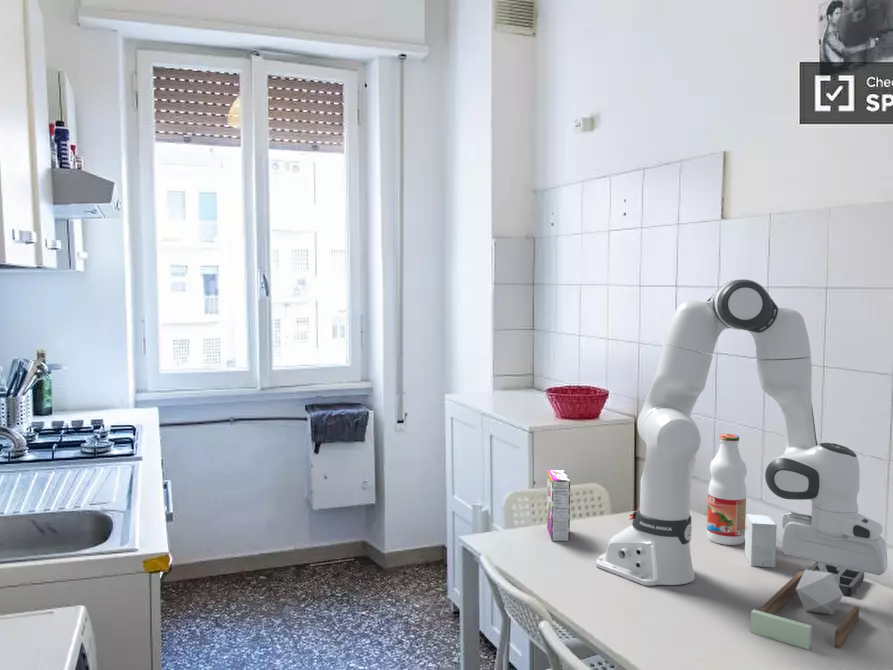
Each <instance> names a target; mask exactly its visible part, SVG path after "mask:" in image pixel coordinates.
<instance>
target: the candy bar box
mask: <svg viewBox="0 0 893 670" xmlns="http://www.w3.org/2000/svg"><path fill="white" fill-rule="evenodd" d="M546 475H547V483H546V484H547V485H546V486H547V488H546V489H547V492H546V494H547V496H546V497H547V498H546V499H547V500H546V501H547V503H546V506H547V507H546V512H547V513H546V529H547V531H548V533H549V537H550V539H551V541H552V542H570V527H571V526H570V524H571V522H570V520H571V519H570V518H571V517H570V513H571V512H570V511H571V480H570V478H569V476H568V474H567V472H566V471H565V470H564V469H548V470H547V474H546Z"/></svg>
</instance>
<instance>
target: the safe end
mask: <svg viewBox="0 0 893 670" xmlns="http://www.w3.org/2000/svg"><path fill="white" fill-rule="evenodd" d="M758 610H759V609H753V610H751V611H750V631H749V632H750V633H753V634H756V635H759V636H763V637H765V638H769V639H773V640H775V641H780V642H781V643H782V642H783V643H785V644H789V645H793V646H795V647H799V648H802V649H806V650H810V649H811V647H812V633H813V632H812V630H813V626H812V625H811V624H808V623H804V622H801V621H797V620H793V619H790V618H786V617H783V616H778V615H776V614H775V615H772V614H769V613H765V612H762V611H758Z"/></svg>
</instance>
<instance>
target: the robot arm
mask: <svg viewBox="0 0 893 670" xmlns="http://www.w3.org/2000/svg"><path fill="white" fill-rule="evenodd" d="M726 329H727V330H728V329H733V330H738V331H739V330H741V331H742V330H743V331H747V332H749V333H750V334H751V336H752V338H753V340H754V345H755V356H756V357H755V359H756V370H757V375H758V380H759V383H760V386H761V389H762V390H763V391H764V392H765V394H767V395H768V396H769V397H771V398H772V399H773V400H774V401H776V403H777V404H778V405H779V407H780V409H781V411H782V412H781V413H782V417H783V425H784V432H785V442H786V446H785V449H784V453H783V454H782V455H780V456H777V457H776V458H774V459H773V460H772V461H770V462H769V464H767V466H766V469H765V474H764V476H765V477H764V478H765V483H766V485H767V487H768V488H769V490H770V491H771V492H772V493H773V494H774V495H775V496H777V497H778V498H780V499H785V500H797V501H798V500H800V501H802V500H804V501H805V500H810V501H811V511H810V512H811V514H810V515H809V514H802V513H797V512H791V511H790V512H789V513H786V514H783V517H782V520H781V522H782V523H781V525H782V529H783V533H782V538H781V543H780V544H781V545H780V546H781V547H780V549H781V551H782V552H783V553H784V554H785V555H789V556H793V557H797V558H801V559H806V560H811V561H813V562H814V561H815V562H818V567H819V569H820V571H821V572H828V571H827V569H826V567H825V566H826V565H827V564H830V565H834V566H837V571H839V573H838V574H837V575H833V576H834V578H835V580H836V582H837V584H838V585H839V583H840V576H841V575H842V574H843V573H844V571H845V570H846V568H847V569H852V570H856V571H861V572H864V573H867V574H872V575H875V576H881V575H883V574H885V573H886V571H887V570H888V551H887V549H888V548H887V545H886V541H885V539H884V538H883V537H882V533H883V525H882V524H881V523H879V522H878V521H876V520H873V519H870V518H868V517H866V516H865V515H862V514H860V513H859V505H858V494H859V492H860V484H861V483H860V479H861V478H860V477H861V476H860V475H861V473H860V462H859V459H858V455H857V454H856V453H855V451H853V450H852V449H850V448H849V447H847V446H844V445H841V444H837V443H832V442H821V443H819V444H818V440H817V439H818V438H817V434H816V426H815V417H814V410H813V403H812V397H813V396H812V377H813V376H812V375H813V373H812V372H813V371H812V370H813V367H812V354H811V353H812V352H811V345H810V344H811V343H810V338H809V334H808V329H807V326H806V323H805V319H804V317H803V315H802V314H801V313H800V312H799V311H797V310H794V309H792V308H790V307H789V308H788V307H778V305H777V304H776V303H775V301H774V300H773V299H772V298H771V296H770V294H769V293H768V291H767V290H766V289H765V288H764V287H763V286H762V285H761V284H759V283H758V282H757V281H754V280H751V279H734V280H730V281H729V282H726V283H724V284H723V285H722V286H720V288H718V289H717V290H715V292H714V293H713V294H712V295H711V296H710V298H708V299H707V301H701V300H687V301H684V302H682V303H681V304H679V305H678V306H677V308H676V310H675V312H674V313H673V316H672V318H671V320H670V323H669V326H668V328H667V332H666V333H665V338H664V341H663V344H662V348H661V352H660V355H659V360H658V364H657V366H656V367H657V368H656V372H655V374H654V375H655V376H654V378H653V382H652V383H651V386H650V387H649V391H648V392H647V396H646V398H645V400H644V403H643V405H642V408H641V410H640V413H639V414H638V417H637V421H636V425H637V433H638V434H639V437H640V438H641V441H643V442H644V443H645V446H646V447H645V448H646V453H645V461H644V467H643V472H642V475H641V477H640V489H639V490H640V492H639V493H640V494H639V498H640V499H639V507H638V508H637V510H634V511H633V513H631V514H629V521H631V520H632V523H631V525H628V527H627V526H626V528H624V529H623V530H621V531H619V532H618V533H615V534H614V535H613V536H612V537H611V538H610V539H609V541H608V544H607V546H606V551H605V552H604V553H603V554H600V555H599V556H598V557H597V559H596V561H595V562H596V563H595V566H596V567H597V568H598V569H601V570H604V571H606V572H610V573H612V574H614V575H617V576H620V577H623V578H625V579H627V580H629V581H633V582H636V583H638V584H640V585H643V586H647V587H649V586H658V585H661V586H663V585H664V586H677V585H678V586H679V585H685V584H688V583H691V582H693V581H694V580H695V579H696V575H695V570H694V567H693V563H692V561H693V560H692V554H691V548H690V547H691V543H690V541H691V540H692V539H691V538H692V530H693V529H692V516H691V514H690V513H691V512H690V505H691V486H692V485H691V483H692V479H693V477H692V476H693V473H694V469H695V468H694V467H695V463H696V458H697V455H698V454H697V453H698V451H699V449H700V446H701V441H702V440H701V434H700V430H699V427H698V426H697V424H696V422H695V420H694V419H692V418H691V414H692V412H693V409H694V407H695V405H696V403H697V401H698V399H699V397H700V395H701V394H702V392H703V391H704V389H705V387H706V383H707V379H708V376H709V372H710V369H711V364H712V360H713V356H714V353H715V349H716V345H717V341H718V339H719V337H720V335H721V334H722V332H723V331H724V330H726Z"/></svg>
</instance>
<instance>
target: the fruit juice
mask: <svg viewBox="0 0 893 670" xmlns="http://www.w3.org/2000/svg"><path fill="white" fill-rule="evenodd" d="M718 436H719V438H718V439H719V442H720V444H719V448H718V450H717V452H716V455H715V456H714V458H713V459H712V460H711V461H710V464H709V472H710V477H711V478H710V481H709V483H708V490H707V491H708V492H707V493H708V494H707V519H706V521H707V522H706V523H707V524H706V537H707V539H708V540H709V541H711V542H713V543H716V544H719V545H725V546H740V545H742V544H744V543H745V528H746V514H747V513H746V511H747V509H746V508H747V485H746V483H745V478H746V476H747V469H748V468H747V465H746V463H745V461H744V460H743V458H742V457H741V454H740V450H739V446H738V445H739V442H740V436H739V435H737V434H733V433H721V434H719V435H718Z"/></svg>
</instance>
